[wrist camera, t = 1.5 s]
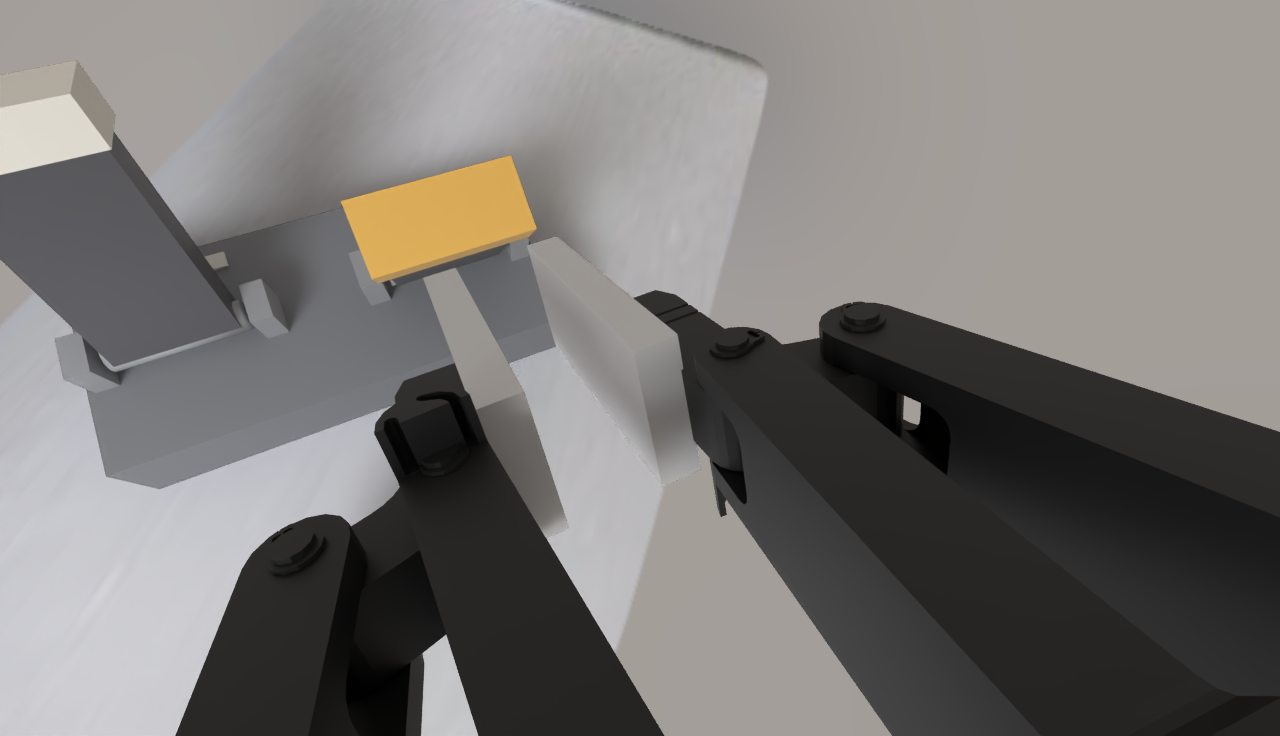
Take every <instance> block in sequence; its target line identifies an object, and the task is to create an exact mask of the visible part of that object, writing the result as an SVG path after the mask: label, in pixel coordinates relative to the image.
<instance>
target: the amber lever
mask: <svg viewBox="0 0 1280 736" xmlns="http://www.w3.org/2000/svg"><path fill="white" fill-rule="evenodd" d="M341 203H342V206H343V208H344V211H345V213H346V216H347V218H348V221H349V223H350V226H351V228H352V231H353V233H354V236H355V238H356V241H357V243H358V246H359V248H360V251H361V253H362V256H363V259H364V261H365V264H366V266H367V269H368V271H369V274H370V276H371V279H372V280H374V281H375V282H376V283H381V282H384V281H388V280H390V282H391V284H392V286H394V285H398V286H399V285H402V284H406V283H409V282H412V281H415V280H418V279H422V278H424V277H427V276H430V275H433V274H437V273H440V272H443V271H446V270H450V269H453V268H457V267H460V266H463V265H467V264H470V263H473V262H476V261H479V260H483V259H486V258H489V257H492V256H495V255H499V254H500V252H503V248H504V247H505V245H506V244H508V243H511V242H514V241H517V240H521V239H524V238H527V237H530V236H531V235H532V234H533V232H534V231H535V230H536V229H537V228H536V225H535V222H534V219H533V217H532V214H531V211H530V208H529V205H528V202H527V199H526V197H525V194H524V191H523V188H522V185H521V182H520V180H519V177H518V174H517V171H516V168H515V165H514V162H513V160H512V157H511V155H509V156H506V157H502V158H498V159H495V160H491V161H487V162H483V163H480V164H476V165H472V166H469V167H465V168H461V169H458V170H454V171H450V172H446V173H443V174H439V175H435V176H432V177H428V178H424V179H421V180H417V181H413V182H410V183H406V184H402V185H398V186H395V187H391V188H387V189H384V190H380V191H376V192H373V193H369V194H365V195H361V196H358V197H354V198H350V199H347V200H343V201H341Z"/></svg>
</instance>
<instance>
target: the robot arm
mask: <svg viewBox="0 0 1280 736" xmlns="http://www.w3.org/2000/svg"><path fill="white" fill-rule="evenodd" d="M527 248H528V252H529V255H530V259H531V262H532V266H533V269H534V272H535V276H536V279H537V283H538V286H539V290H540V293H541V297H542V300H543V304H544V307H545V311H546V314H547V318H548V321H549V325H550V328H551V332H552V335H553V339H554V342H555V345H556V346H557V348H558V349H559V350H560V352H561V353H562V354H563V356H564V357H565V358H566V360H567V361H568V362H569V364H570V365H571V366H572V368H573V369H574V370H575V372H576V373H577V374H578V376H579V377H580V378H581V380H582V381H583V382H584V383H585V385H586V386H587V387H588V389H589V390H590V391H591V393H592V394H593V395H594V397H595V398H596V399H597V401H598V402H599V403H600V405H601V406H602V407H603V409H604V410H605V411H606V413H607V414H608V415H609V417H610V418H611V419H612V421H613V422H614V423H615V425H616V426H617V427H618V429H619V430H620V431H621V432H622V434H623V435H624V436H625V438H626V439H627V440H628V442H629V443H630V444H631V446H632V447H633V448H634V450H635V451H636V452H637V454H638V455H639V456H640V458H641V459H642V460H643V462H644V463H645V464H646V466H647V467H648V468H649V470H650V471H651V472H652V474H653V475H654V476H655V478H656V479H657V480H658V481H659V483H660V484H661V485H662V487H663V486H665V485H668V484H670V483H672V482H674V481H677V480H679V479H681V478H683V477H686V476H688V475H690V474H692V473H694V472H697V471H699V470H701V467H700V461H699V456H698V450H697V445H698V446H699V447H700V448H701V449H702V450H703V451H704V452H705V453H706V454H707V455H708V456H709V458H710V463H711V469H712V476H713V482H714V488H715V495H716V501H717V506H718V510H719V513H720V516H721V517H722V516H725V515H727V514H726V508H725V501H726V500H727V501H728V502H729V504H730V505H731V507H732V508H733V509H734V511H735V512H736V514H737V515H738V517H739V518H740V519H741V521H742V522H743V524H744V525H745V527H746V528H747V529H748V531H749V532H750V534H751V535H752V537H753V538H754V539H755V541H756V542H757V544H758V545H759V547H760V548H761V549H762V551H763V552H764V554H765V555H766V557H767V558H768V559H769V561H770V562H771V564H772V565H773V567H774V568H775V569H776V571H777V572H778V574H779V575H780V576H781V578H782V579H783V581H784V582H785V584H786V585H787V587H788V588H789V589H790V591H791V592H792V593H793V595H794V596H795V598H796V599H797V601H798V602H799V604H800V605H801V606H802V608H803V609H804V611H805V612H806V614H807V615H808V616H809V618H810V619H811V621H812V622H813V624H814V625H815V626H816V628H817V629H818V631H819V632H820V633H821V635H822V636H823V638H824V639H825V641H826V642H827V644H828V645H829V646H830V648H831V649H832V651H833V652H834V654H835V655H836V656H837V658H838V659H839V661H840V662H841V663H842V665H843V666H844V668H845V669H846V671H847V672H848V673H849V675H850V676H851V678H852V679H853V681H854V682H855V683H856V685H857V686H858V688H859V689H860V691H861V692H862V693H863V695H864V696H865V698H866V699H867V700H868V702H869V703H870V705H871V706H872V708H873V709H874V711H875V712H876V713H877V715H878V716H879V718H880V719H881V720H882V722H883V723H884V725H885V726H886V728H887V729H888V731H889V732H890V733H891V735H892V736H1280V432H1278V431H1275V430H1272V429H1269V428H1266V427H1263V426H1260V425H1256V424H1253V423H1250V422H1247V421H1244V420H1241V419H1238V418H1235V417H1232V416H1229V415H1226V414H1222V413H1219V412H1216V411H1213V410H1210V409H1207V408H1204V407H1201V406H1198V405H1195V404H1191V403H1188V402H1185V401H1182V400H1179V399H1176V398H1173V397H1170V396H1167V395H1164V394H1161V393H1157V392H1154V391H1151V390H1148V389H1145V388H1142V387H1138V386H1136V385H1133V384H1130V383H1127V382H1124V381H1120V380H1117V379H1114V378H1111V377H1108V376H1105V375H1101V374H1099V373H1096V372H1093V371H1090V370H1086V369H1083V368H1080V367H1077V366H1074V365H1071V364H1068V363H1065V362H1062V361H1059V360H1056V359H1052V358H1049V357H1046V356H1043V355H1040V354H1037V353H1034V352H1031V351H1027V350H1024V349H1022V348H1018V347H1015V346H1012V345H1009V344H1006V343H1002V342H1000V341H996V340H994V339H991V338H987V337H984V336H981V335H978V334H975V333H972V332H969V331H966V330H963V329H960V328H957V327H954V326H950V325H947V324H944V323H941V322H938V321H935V320H932V319H929V318H926V317H922V316H919V315H916V314H913V313H910V312H907V311H904V310H901V309H898V308H895V307H892V306H888V305H883V304H878V303H865V302H853V304H851V303H847V304H844V305H842V306H839V307H836V308H834V309H831V310H830V311H828V312H827V313H825V314H824V315H823V316H822V317H821V320H820V322H819V335H820V338H817V339H811V340H806V341H802V342H796V343H790V344H783V345H782V344H781V343H779V342H778V341H777V340H776V339H774V338H773V337H772V336H771V335H770V334H768V333H766V332H764V331H762V330H759V329H754V328H748V327H736V328H735V327H734V328H727V329H724V328H722V327H721V326H720V325H718V324H717V323H715V322H714V321H712V320H711V319H710V318H708V317H707V316H705V315H704V314H702V313H701V312H698V310H697V309H695V308H694V307H692V306H691V305H688V303H687V302H685V301H684V300H682V299H681V298H679V297H678V296H677V295H675V294H670V293H666V292H662V291H657V290H655V291H652V292H649V293H646V294H643V295H641V296H638V297H635V298H632V297H631V296H630V295H629V294H627V293H626V292H625V291H624V290H622V289H621V288H620V287H619V286H618V285H616V284H615V283H614V282H613V281H611V280H610V279H609V278H608V277H606V276H605V275H604V274H603V273H602V272H600V271H599V270H598V269H597V268H595V267H594V266H593V265H592V264H590V263H589V262H588V261H587V260H585V259H584V258H583V257H582V256H581V255H579V254H578V253H577V252H576V251H574V250H573V249H572V248H571V247H569V246H568V245H567V244H566V243H564V242H563V241H562V240H561V239H560V238H558V237H557V236H555V237H552V238H549V239H546V240H543V241H539V242H536V243H533V244H530V245H527ZM423 280H424V282H425V285H426V288H427V290H428V293H429V295H430V298H431V301H432V303H433V306H434V309H435V311H436V314H437V317H438V319H439V322H440V325H441V327H442V330H443V333H444V335H445V338H446V341H447V343H448V346H449V349H450V351H451V354H452V357H453V359H454V362H455V363H453V364H450V365H447V366H444V367H441V368H439V369H436V370H433V371H430V372H427V373H424V374H422V375H419V376H416V377H413V378H410V379H407V380H405V381H403V383H402V385H401V386H400V388H399V390H398V392H397V393H396V395H395V404H394V405H393V406H392V407H390V408H389V409H388V410H386V411H385V412H384V413H383V414H382V415H381V417H380V418H379V419H378V421H377V422H376V424H375V432H374V434H375V436H376V438H377V440H378V442H379V444H380V446H381V448H382V450H383V452H384V454H385V456H386V458H387V460H388V462H389V464H390V466H391V468H392V470H393V472H394V474H395V476H396V478H397V480H398V483H399V486H400V488H399V489H398V490H397V492H396V493H395V494H394V496H393V497H392V498H390V499H389V500H388V501H387V502H386V503H385V504H384V505H383V506H382V507H380V508H379V509H377V510H376V511H375V512H373V513H372V514H370V515H369V516H367V517H366V518H364V519H362V520H361V521H359V522H358V523H356V524H354V525H353V526H350V524H349V523H348V522H347V521H346V520H344V519H343V518H342V517H341V516H336V515H328V514H324V515H319V516H313V517H308V518H305V519H303V520H300V521H298V522H296V523H293V524H290V525H288V526H286V527H284V528H282V529H281V530H280V531H279V532H278V531H277V532H276V533H275V534H273V535H272V536H270V537H269V538H268V539H267V540H266V541H265V542H264V543H263V544H261V545H260V546H259V547H258V548H257V549H256V550H255V551H254V552H253V553H252V554H251V556H250V557H249V559H248V560H247V562H246V564H245V565H244V567H243V568H242V570H241V573H240V575H239V578H238V580H237V583H236V585H235V588H234V590H233V593H232V595H231V598H230V600H229V603H228V605H227V608H226V610H225V613H224V615H223V618H222V620H221V623H220V625H219V628H218V630H217V633H216V635H215V638H214V640H213V643H212V645H211V648H210V650H209V653H208V655H207V658H206V660H205V663H204V665H203V668H202V670H201V673H200V675H199V678H198V680H197V683H196V685H195V688H194V690H193V693H192V695H191V698H190V700H189V703H188V706H187V708H186V711H185V713H184V716H183V718H182V721H181V723H180V726H179V728H178V731H177V733H176V736H421V723H422V702H423V681H424V659H423V654H422V653H423V652H424V651H426V650H427V649H428V648H429V647H431V646H432V645H433V644H434V643H436V642H437V641H438V640H440V639H441V638H442V637H443V636H445V635H447V638H448V641H449V644H450V647H451V650H452V654H453V657H454V660H455V663H456V666H457V669H458V673H459V676H460V679H461V682H462V685H463V688H464V691H465V695H466V698H467V701H468V704H469V707H470V710H471V714H472V717H473V720H474V723H475V726H476V729H477V732H478V736H664V734H663V733H662V731H661V729H660V728H659V726H658V724H657V723H656V721H655V719H654V718H653V716H652V714H651V713H650V711H649V709H648V708H647V706H646V704H645V703H644V701H643V699H642V698H641V696H640V694H639V693H638V691H637V690H636V688H635V686H634V684H633V683H632V681H631V679H630V678H629V676H628V674H627V673H626V671H625V669H624V668H623V666H622V664H621V663H620V661H619V659H618V658H617V656H616V654H615V653H614V651H613V649H612V648H611V646H610V644H609V643H608V641H607V639H606V638H605V636H604V634H603V632H602V631H601V629H600V627H599V626H598V624H597V622H596V621H595V619H594V617H593V616H592V614H591V612H590V611H589V609H588V607H587V606H586V604H585V602H584V601H583V599H582V597H581V596H580V594H579V592H578V591H577V589H576V587H575V586H574V584H573V582H572V581H571V579H570V577H569V576H568V574H567V572H566V571H565V569H564V567H563V566H562V564H561V562H560V561H559V559H558V557H557V556H556V554H555V552H554V551H553V549H552V547H551V546H550V544H549V542H548V541H547V539H546V538H548V537H550V536H553V535H555V534H557V533H559V532H562V531H564V530H566V529H568V528H569V526H568V523H567V520H566V517H565V514H564V511H563V508H562V505H561V502H560V499H559V496H558V493H557V490H556V487H555V484H554V481H553V478H552V475H551V471H550V468H549V465H548V462H547V459H546V456H545V453H544V450H543V447H542V444H541V441H540V438H539V435H538V432H537V429H536V426H535V423H534V420H533V417H532V414H531V411H530V408H529V405H528V402H527V399H526V396H525V393H524V391H523V389H522V387H521V385H520V383H519V382H518V380H517V378H516V376H515V374H514V372H513V371H512V369H511V367H510V365H509V363H508V362H507V360H506V358H505V356H504V354H503V353H502V351H501V349H500V347H499V345H498V344H497V342H496V340H495V338H494V336H493V335H492V333H491V331H490V329H489V327H488V325H487V324H486V322H485V320H484V318H483V316H482V315H481V313H480V311H479V309H478V307H477V306H476V304H475V302H474V300H473V298H472V297H471V295H470V293H469V291H468V289H467V288H466V286H465V284H464V282H463V280H462V279H461V277H460V275H459V273H458V271H457V269H456V268H453V269H450V270H446V271H443V272H440V273H437V274H433V275H430V276H427V277H424V278H423ZM904 396H907V397H909V398H912V399H913V400H916V401H918V402H920V403H921V415H920V423H919V425H916V424H913V423H910V422H908V421H906V420H903V406H904Z"/></svg>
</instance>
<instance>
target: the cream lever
mask: <svg viewBox="0 0 1280 736" xmlns="http://www.w3.org/2000/svg"><path fill="white" fill-rule="evenodd" d="M114 124H115V113H114V112H113V110H112V109H111V108H110V106H109V105H108V103H107V102H106V100H105V99H104V98H103V96H102V95H101V93H100V92H99V90H98V89H97V88H96V86H95V85H94V83H93V82H92V81H91V79H90V78H89V77H88V75H87V73H86V72H85V71H84V69H83V68H82V67H81V65H80V63H79V62H78V61H77V60H75V61H71V62H65V63H60V64H55V65H49V66H45V67H39V68H34V69H29V70H23V71H19V72H13V73H8V74H3V75H0V260H2V261H3V262H4V263H5V264H6V265H7V266H8V267H9V268H10V269H11V270H12V271H13V272H14V273H15V274H16V275H17V276H18V277H20V278H21V279H22V280H23V281H24V282H25V283H26V284H27V285H28V286H29V287H30V288H31V289H32V290H33V291H34V292H35V293H36V294H37V295H38V296H39V297H41V298H42V299H43V300H44V301H45V302H46V303H47V304H48V305H49V306H50V307H51V308H52V309H53V310H54V311H55V312H56V313H57V314H58V315H60V316H61V317H62V318H63V319H64V320H65V321H66V322H67V323H68V324H69V325H70V326H71V327H72V328H73V329H74V330H75V331H76V332H77V333H78V334H80V335H81V336H82V337H83V338H84V339H85V340H86V341H87V342H88V343H89V344H90V345H91V346H92V347H93V348H94V349H95V350H96V351H97V352H98V353H99V356H100V358H101V360H102V361H103V363H104V364H105V365H106V367H107V368H109V369H110V370H111V371H114V372H117V371H120V370H124V369H127V368H130V367H133V366H137V365H140V364H143V363H146V362H149V361H153V360H156V359H159V358H162V357H165V356H169V355H172V354H175V353H178V352H182V351H185V350H188V349H191V348H194V347H198V346H201V345H204V344H207V343H210V342H214V341H217V340H220V339H223V338H227V337H230V336H233V335H236V334H239V333H243V332H246V331H249V330H252V329H254V326H253V325H252V324H251V323H250V321H249V318H248V314H247V311H246V308H245V305H244V303H243V301H241V300H240V299H239V300H235V298H234V297H233V296H232V294H231V293H230V291H229V290H228V289H227V287H226V286H225V285H224V283H223V282H222V280H221V279H220V278H219V276H218V275H217V273H216V272H215V271H214V269H213V268H212V267H211V265H210V264H209V262H208V261H207V260H206V258H205V257H204V256H203V254H202V253H201V251H200V250H199V249H198V247H197V246H196V244H195V243H194V242H193V240H192V239H191V238H190V236H189V235H188V233H187V232H186V231H185V229H184V228H183V227H182V225H181V224H180V222H179V221H178V220H177V218H176V217H175V215H174V214H173V213H172V211H171V210H170V209H169V207H168V206H167V204H166V203H165V202H164V200H163V199H162V197H161V196H160V195H159V193H158V192H157V191H156V189H155V188H154V186H153V185H152V184H151V182H150V181H149V180H148V178H147V177H146V176H145V174H144V173H143V171H142V170H141V168H140V167H139V166H138V164H137V163H136V162H135V160H134V159H133V158H132V156H131V155H130V153H129V152H128V151H127V149H126V148H125V146H124V145H123V144H122V142H121V141H120V139H119V138H118V137H117V135H116V134H115V133H114Z"/></svg>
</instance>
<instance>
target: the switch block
mask: <svg viewBox="0 0 1280 736" xmlns="http://www.w3.org/2000/svg"><path fill="white" fill-rule="evenodd" d="M527 245H530V242H529V237H527V238H524V239H521V240H517V241H514V242H511V243H508V244H506V245H505V247H504V248H503V252H500V254H499V255H495V256H492V257H489V258H486V259H483V260H479V261H476V262H473V263H470V264H467V265H463V266H460V267H457V268H456V269H457V271H458V273H459V275H460V277H461V279H462V280H463V282H464V284H465V286H466V288H467V289H468V291H469V293H470V295H471V297H472V298H473V300H474V302H475V304H476V306H477V307H478V309H479V311H480V313H481V315H482V316H483V318H484V320H485V322H486V324H487V325H488V327H489V329H490V331H491V333H492V335H493V336H494V338H495V340H496V342H497V344H498V345H499V347H500V349H501V351H502V353H503V354H504V356H505V358H506V360H507V362H508V363H511V362H513V361H516V360H519V359H522V358H524V357H527V356H530V355H533V354H536V353H538V352H541V351H544V350H547V349H549V348H552V347H555V346H556V345H555V342H554V339H553V335H552V332H551V328H550V325H549V321H548V318H547V314H546V311H545V307H544V304H543V300H542V297H541V293H540V290H539V286H538V283H537V279H536V276H535V272H534V269H533V266H532V262H531V259H530V255H529V252H528V248H527ZM198 249H199V250H200V251H201V253H202V254H203V256H204V257H205V258H206V260H207V261H208V262H209V264H210V265H211V267H212V268H213V269H214V271H215V272H216V273H217V275H218V276H219V278H220V279H221V280H222V282H223V283H224V285H225V286H226V287H227V289H228V290H229V291H230V293H231V294H232V296H233V297H234V298H235V300H239V299H240V300H241V301H243V303H244V305H245V308H246V311H247V314H248V318H249V321H250V323H251V324H252V325H253V326H254V329H252V330H249V331H246V332H243V333H239V334H236V335H233V336H230V337H227V338H223V339H220V340H217V341H214V342H210V343H207V344H204V345H201V346H198V347H194V348H191V349H188V350H185V351H182V352H178V353H175V354H172V355H169V356H165V357H162V358H159V359H156V360H153V361H149V362H146V363H143V364H140V365H137V366H133V367H130V368H127V369H124V370H120V371H117V372H114V371H111V370H110V369H109V368H107V367H106V365H105V364H104V363H103V361H102V360H101V358H100V356H99V353H98V352H97V351H96V350H95V349H94V348H93V347H92V346H91V345H90V344H89V343H88V342H87V341H86V340H85V339H84V338H83V337H82V336H81V335H80V334H78V333H77V332H76V331H75V330H74V329H73V328H72V329H73V334H70V335H66V336H63V337H60V338H56V339H55V343H56V347H57V352H58V356H59V361H60V365H61V370H62V375H63V379H64V380H65V381H68V382H70V383H73V384H75V385H77V386H80V387H82V388H85V389H86V390H87V395H88V399H89V404H90V408H91V412H92V417H93V421H94V426H95V430H96V434H97V439H98V443H99V448H100V452H101V456H102V461H103V465H104V470H105V474H106V477H110V478H115V479H119V480H123V481H127V482H132V483H136V484H140V485H145V486H149V487H153V488H157V489H161V488H164V487H166V486H169V485H172V484H175V483H178V482H180V481H183V480H186V479H189V478H191V477H194V476H197V475H200V474H203V473H205V472H208V471H211V470H214V469H216V468H219V467H222V466H225V465H227V464H230V463H233V462H236V461H239V460H241V459H244V458H247V457H250V456H252V455H255V454H258V453H261V452H264V451H266V450H269V449H272V448H275V447H277V446H280V445H283V444H286V443H289V442H291V441H294V440H297V439H300V438H302V437H305V436H308V435H311V434H314V433H316V432H319V431H322V430H325V429H327V428H330V427H333V426H336V425H339V424H341V423H344V422H347V421H350V420H352V419H355V418H358V417H361V416H363V415H366V414H369V413H372V412H375V411H377V410H380V409H383V408H386V407H388V406H391V405H394V404H395V395H396V393H397V392H398V390H399V388H400V386H401V385H402V383H403V381H405V380H407V379H410V378H413V377H416V376H419V375H422V374H424V373H427V372H430V371H433V370H436V369H439V368H441V367H444V366H447V365H450V364H453V363H455V362H454V359H453V357H452V354H451V351H450V349H449V346H448V343H447V341H446V338H445V335H444V333H443V330H442V327H441V325H440V322H439V319H438V317H437V314H436V311H435V309H434V306H433V303H432V301H431V298H430V295H429V293H428V290H427V288H426V285H425V282H424V280H423V278H422V279H418V280H415V281H412V282H409V283H406V284H402V285H399V286H398V285H394V286H392V284H391V282H390V280H388V281H384V282H381V283H376V282H375V281H374V280H372V279H371V276H370V274H369V271H368V269H367V266H366V264H365V261H364V259H363V256H362V253H361V251H360V248H359V246H358V243H357V241H356V238H355V236H354V233H353V231H352V228H351V226H350V223H349V221H348V218H347V216H346V213H345V211H344V208H343V207H342V208H339V209H335V210H331V211H328V212H324V213H320V214H317V215H313V216H309V217H306V218H302V219H298V220H295V221H291V222H287V223H284V224H280V225H276V226H273V227H269V228H265V229H262V230H258V231H254V232H251V233H247V234H243V235H240V236H236V237H232V238H229V239H225V240H222V241H218V242H214V243H211V244H207V245H203V246H200V247H198Z"/></svg>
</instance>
